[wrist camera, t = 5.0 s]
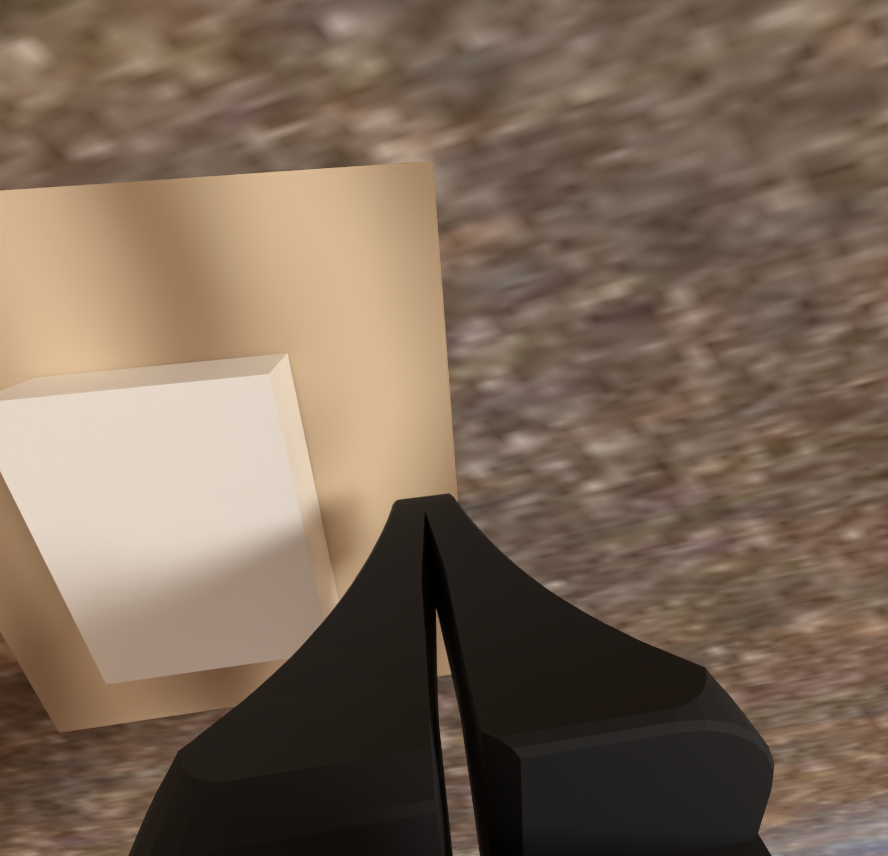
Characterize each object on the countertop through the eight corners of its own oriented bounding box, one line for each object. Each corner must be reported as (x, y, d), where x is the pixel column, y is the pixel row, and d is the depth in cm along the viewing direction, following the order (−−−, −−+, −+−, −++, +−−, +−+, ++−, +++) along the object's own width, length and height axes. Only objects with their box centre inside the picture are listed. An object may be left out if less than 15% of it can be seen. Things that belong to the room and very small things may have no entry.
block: (338, 599, 15) (143, 625, 14) (288, 352, 12) (37, 376, 11) (331, 652, 13) (105, 684, 12) (268, 374, 10) (-34, 404, 9)
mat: (70, 716, 16) (59, 732, 16) (-212, 209, 10) (-248, 207, 9) (467, 657, 17) (469, 671, 17) (430, 164, 11) (432, 160, 10)
